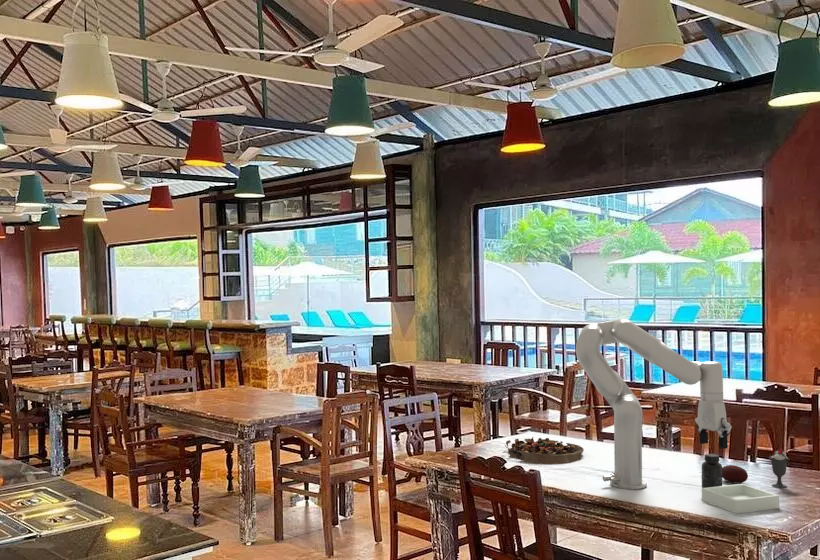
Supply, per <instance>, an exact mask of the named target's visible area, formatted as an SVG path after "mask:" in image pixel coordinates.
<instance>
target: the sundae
mask: <svg viewBox="0 0 820 560" xmlns="http://www.w3.org/2000/svg"><path fill="white" fill-rule="evenodd" d="M782 446H783V445H780V447H778V448H779V449H777V450H775V451H774V454H772V455H770V456H769V457H768V459H769V460H770V462H771V468H772V469H771V470H772V472H773V474H774V475H775V476H776V477H777V481H776V483H774V484H771V486H772V488H776V489H787V488H788V486H787V485H785V484H783V482H782V478H783V476H784V475H786V473H787V472H786V471H787V466H788V461H790V458H789V457H788V456H787V455H786V453H785V452H784V450H783V448H781V447H782Z"/></svg>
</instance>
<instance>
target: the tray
mask: <svg viewBox="0 0 820 560" xmlns="http://www.w3.org/2000/svg"><path fill="white" fill-rule="evenodd" d="M701 500H702V501H703V502H705V503H708V504H710V505H712V506H713V505H714V506H716V507H718V508H721V509H723V510H726V511H729V512H732V513H734V514H742V513H743V514H744V513H750V512H751V513H752V512H757V511H766V510H774V509H780V495H778V494H775V493H772V492H770V491H767V490H763V489H759V488H758V487H755V486H751V485H748V484H746V483H734V484H728V485H722V486H717V487H708V488H702V487H701Z"/></svg>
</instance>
